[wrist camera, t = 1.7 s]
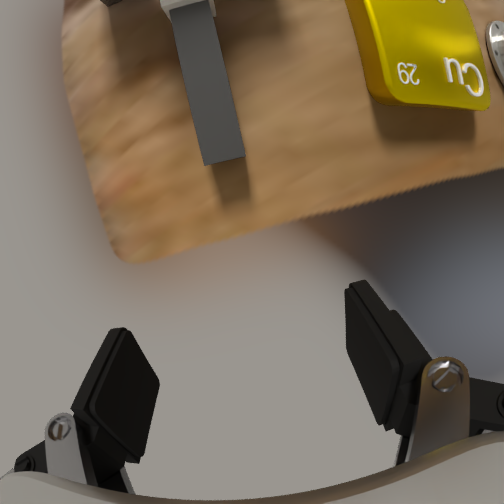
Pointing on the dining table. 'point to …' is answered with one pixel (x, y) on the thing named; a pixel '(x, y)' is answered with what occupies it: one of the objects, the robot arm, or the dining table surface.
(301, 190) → the dining table surface
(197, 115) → the grey and white bar
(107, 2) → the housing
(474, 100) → the element tile
